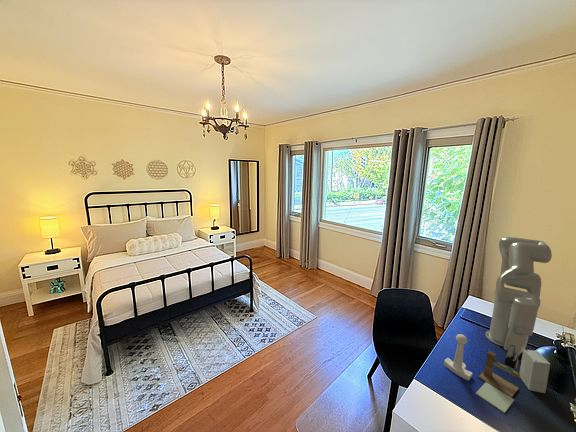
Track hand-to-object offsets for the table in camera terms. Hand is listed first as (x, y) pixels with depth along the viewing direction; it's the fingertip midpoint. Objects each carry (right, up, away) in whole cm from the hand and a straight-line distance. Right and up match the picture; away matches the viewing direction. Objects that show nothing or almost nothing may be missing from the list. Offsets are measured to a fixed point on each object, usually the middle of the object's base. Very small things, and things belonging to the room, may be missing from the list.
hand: (513, 361), depth 105 cm
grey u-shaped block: (0, -4, +1) cm, 4 cm away
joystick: (-14, -12, +13) cm, 23 cm away
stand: (-2, -13, +5) cm, 14 cm away
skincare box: (+13, -13, +5) cm, 19 cm away
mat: (-9, -15, -1) cm, 17 cm away
